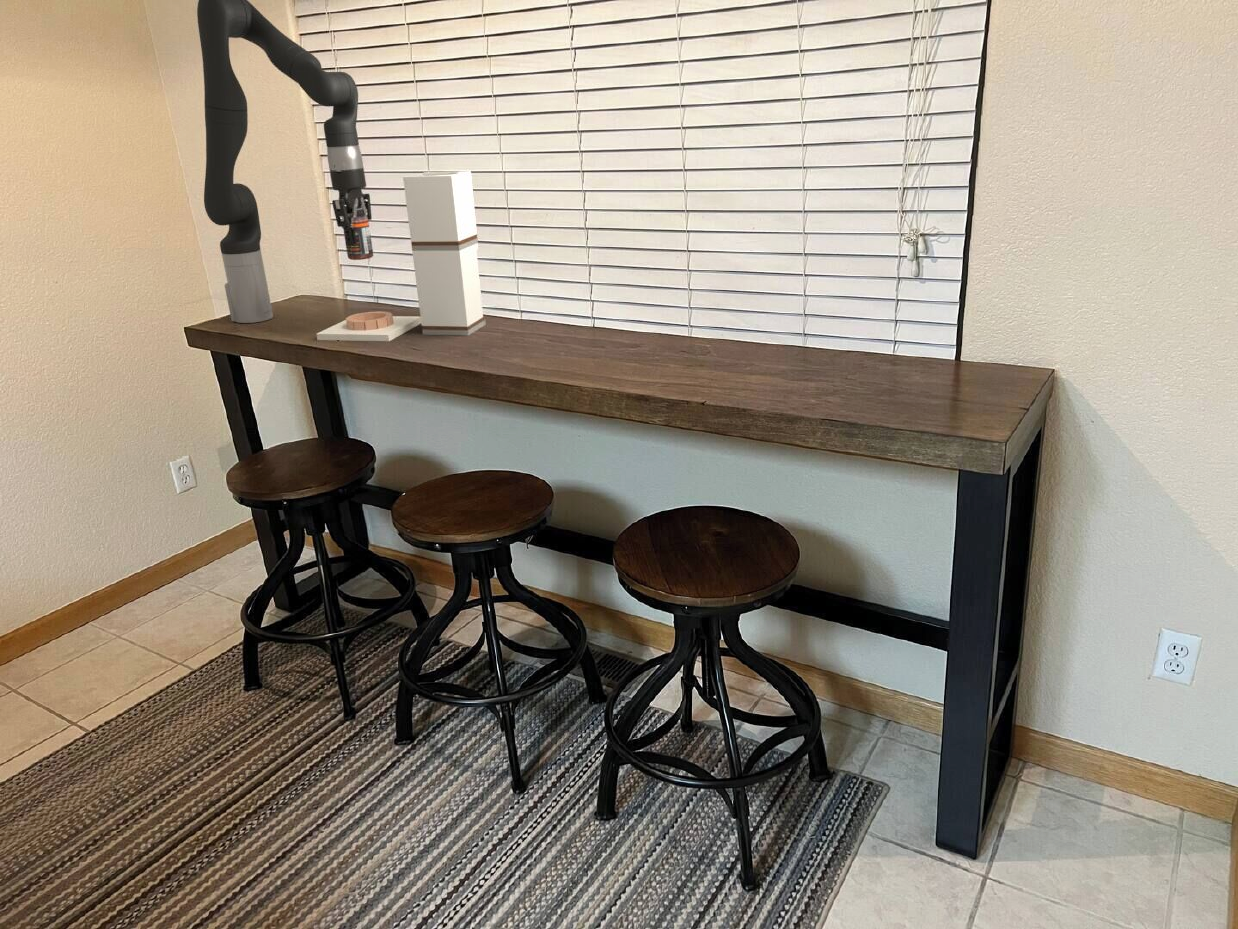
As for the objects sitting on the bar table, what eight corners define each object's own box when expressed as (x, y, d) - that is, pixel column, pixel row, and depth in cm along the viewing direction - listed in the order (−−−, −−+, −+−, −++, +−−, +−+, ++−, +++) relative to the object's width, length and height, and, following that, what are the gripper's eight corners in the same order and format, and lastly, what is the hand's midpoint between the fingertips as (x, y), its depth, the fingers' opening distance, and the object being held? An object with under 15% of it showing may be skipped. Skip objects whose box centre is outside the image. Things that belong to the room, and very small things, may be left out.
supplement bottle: (343, 260, 213) (334, 210, 209) (356, 256, 218) (348, 207, 214) (365, 260, 212) (357, 209, 207) (378, 255, 217) (371, 206, 213)
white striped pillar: (485, 324, 219) (470, 171, 206) (468, 335, 209) (451, 175, 196) (441, 323, 222) (424, 172, 208) (422, 334, 212) (402, 176, 199)
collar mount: (317, 340, 211) (314, 325, 210) (355, 321, 227) (353, 307, 226) (388, 341, 207) (386, 326, 206) (422, 322, 223) (420, 308, 222)
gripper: (346, 165, 215) (358, 238, 221) (315, 170, 202) (328, 248, 208) (375, 164, 213) (386, 237, 219) (346, 169, 200) (358, 247, 206)
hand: (358, 242), depth 214 cm, fingers closed on supplement bottle, 6 cm apart
